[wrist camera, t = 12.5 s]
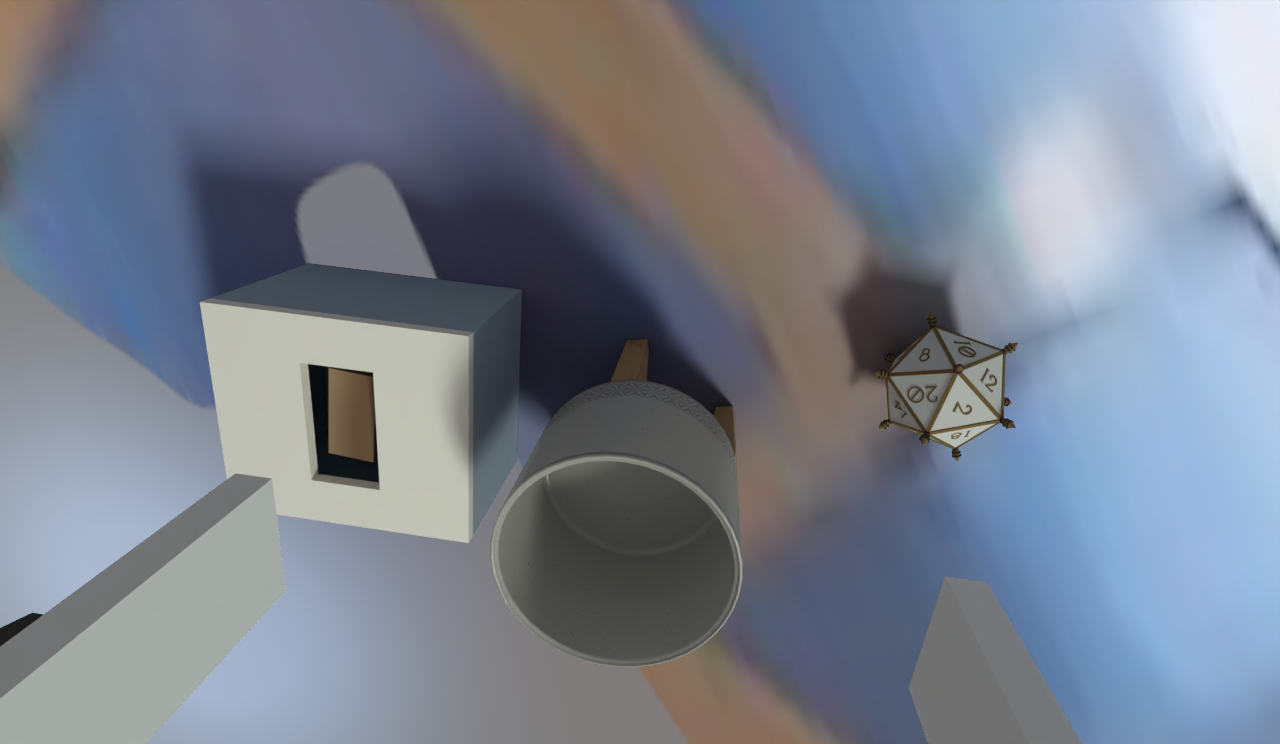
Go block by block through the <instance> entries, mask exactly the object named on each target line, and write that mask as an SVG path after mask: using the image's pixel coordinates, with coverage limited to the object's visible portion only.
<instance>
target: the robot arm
mask: <svg viewBox="0 0 1280 744" xmlns="http://www.w3.org/2000/svg"><path fill="white" fill-rule="evenodd" d="M285 591H286V586H285V577H284V570H283V562H282V554H281V546H280V538H279V529H278V521H277V513H276V505H275V497H274V489H273V481H272V478H265V477H258V476H251V475H244V474H237V473H235V474H234V475H233V476H231V477H230V478H228V479H227V480H226V481H224V482H223V483H222V484H220V485H219V486H218V487H216V488H215V489H214V490H212V491H211V492H209V493H208V494H207V495H205V496H204V497H203V498H201V499H200V500H199V501H197V502H196V503H195V504H193V505H192V506H190V507H189V508H188V509H186V510H185V511H184V512H182V513H181V514H180V515H178V516H177V517H176V518H174V519H173V520H171V521H170V522H169V523H168V524H166V525H165V526H163V527H162V528H161V529H159V530H158V531H157V532H155V533H154V534H152V535H151V536H150V537H148V538H147V539H146V540H145V541H143V542H142V543H141V544H139V545H138V546H136V547H135V548H133V549H132V550H131V551H129V552H128V553H127V554H125V555H124V556H123V557H121V558H120V559H119V560H117V561H116V562H115V563H113V564H112V565H110V566H109V567H108V568H107V569H105V570H104V571H102V572H101V573H100V574H98V575H97V576H95V577H94V578H93V579H91V580H90V581H89V582H87V583H86V584H85V585H83V586H82V587H81V588H79V589H78V590H76V591H75V592H74V593H72V594H71V595H70V596H68V597H67V598H66V599H64V600H63V601H62V602H60V603H59V604H57V605H56V606H55V607H53V608H52V609H51V610H49V611H48V612H47V613H45V614H44V615H43V614H36V613H31V614H29V615H27V616H25V617H23V618H20V619H18V620H16V621H14V622H12V623H10V624H8V625H6V626H4V627H1V628H0V744H146V743H147V742H148V741H149V739H151V737H152V736H153V735H154V734H155V733H156V732H157V731H158V730H159V729H160V728H161V727H162V725H163V724H164V723H165V722H166V721H167V720H168V719H169V718H170V717H171V716H172V714H173V713H174V712H175V711H176V710H177V709H178V708H179V707H180V706H181V705H182V703H183V702H184V701H185V700H186V699H187V698H188V697H189V696H190V695H191V694H192V693H193V692H194V690H195V689H196V688H197V687H198V686H199V685H200V684H201V683H202V682H203V681H204V679H205V678H206V677H207V676H208V675H209V674H210V673H211V672H212V671H213V669H214V668H215V667H216V666H217V665H218V664H219V663H220V662H221V661H222V660H223V659H224V657H225V656H226V655H227V654H228V653H229V652H230V651H231V650H232V649H233V648H234V647H235V645H236V644H237V643H238V642H239V641H240V640H241V639H242V638H243V637H244V636H245V635H246V633H247V632H248V631H249V630H250V629H251V628H252V627H253V626H254V624H256V623H257V621H258V620H259V619H260V618H261V617H262V616H263V615H264V614H265V613H266V612H267V610H268V609H269V608H270V607H271V606H272V605H273V604H274V603H275V602H276V601H277V599H278V598H279V597H280V596H281V595H282V594H283V593H284V592H285ZM909 689H910V692H911V695H912V698H913V701H914V704H915V707H916V710H917V713H918V716H919V719H920V722H921V725H922V728H923V731H924V734H925V737H926V740H927V743H928V744H1081V742H1080V740H1079V738H1078V737H1077V735H1076V733H1075V732H1074V730H1073V728H1072V726H1071V725H1070V723H1069V721H1068V720H1067V718H1066V716H1065V714H1064V713H1063V711H1062V709H1061V708H1060V706H1059V704H1058V702H1057V701H1056V699H1055V697H1054V696H1053V694H1052V692H1051V690H1050V689H1049V687H1048V685H1047V684H1046V682H1045V680H1044V679H1043V677H1042V675H1041V673H1040V672H1039V670H1038V668H1037V667H1036V665H1035V663H1034V661H1033V660H1032V658H1031V656H1030V655H1029V653H1028V651H1027V649H1026V648H1025V646H1024V644H1023V643H1022V641H1021V639H1020V637H1019V636H1018V634H1017V632H1016V631H1015V629H1014V627H1013V625H1012V624H1011V622H1010V620H1009V619H1008V617H1007V615H1006V613H1005V612H1004V610H1003V608H1002V607H1001V605H1000V603H999V602H998V600H997V598H996V596H995V595H994V593H993V591H992V590H991V588H990V586H989V584H988V583H987V582H980V581H973V580H966V579H960V578H953V577H946V576H945V579H944V582H943V585H942V588H941V591H940V594H939V597H938V600H937V603H936V606H935V609H934V612H933V615H932V618H931V622H930V625H929V628H928V631H927V634H926V637H925V640H924V643H923V646H922V649H921V652H920V655H919V658H918V661H917V665H916V668H915V671H914V674H913V677H912V680H911V683H910V686H909Z"/></svg>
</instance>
